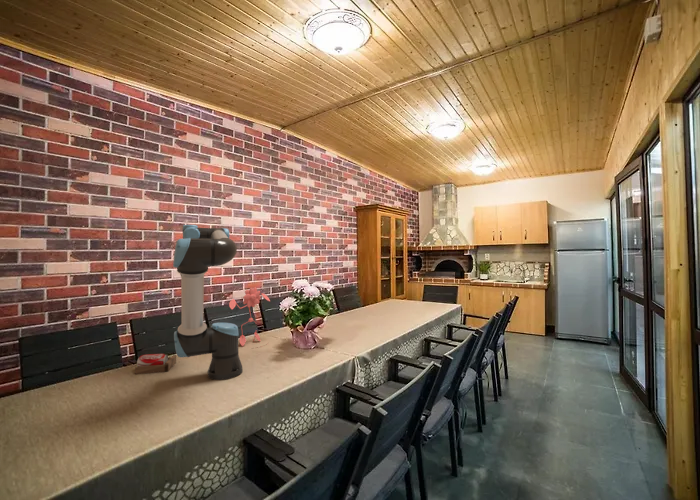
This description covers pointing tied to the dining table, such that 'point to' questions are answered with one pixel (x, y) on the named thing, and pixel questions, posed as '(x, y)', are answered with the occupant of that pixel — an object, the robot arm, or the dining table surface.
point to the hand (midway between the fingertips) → (190, 296)
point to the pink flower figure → (251, 300)
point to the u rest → (157, 367)
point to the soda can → (152, 359)
